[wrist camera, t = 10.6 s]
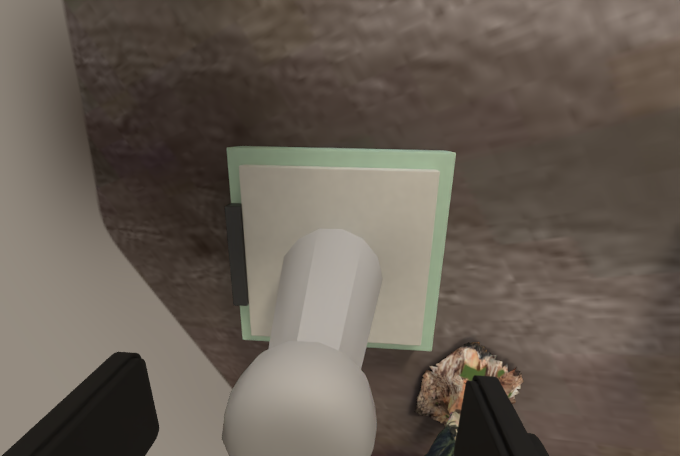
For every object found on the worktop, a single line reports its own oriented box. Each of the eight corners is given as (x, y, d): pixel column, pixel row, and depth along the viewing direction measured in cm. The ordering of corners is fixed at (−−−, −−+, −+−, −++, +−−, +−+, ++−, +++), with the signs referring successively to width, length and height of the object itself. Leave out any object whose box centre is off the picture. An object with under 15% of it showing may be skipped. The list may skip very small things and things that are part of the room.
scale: (240, 145, 22) (218, 148, 19) (446, 150, 21) (461, 153, 18) (252, 321, 26) (237, 348, 23) (425, 331, 25) (434, 361, 22)
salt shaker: (293, 299, 21) (194, 532, 9) (287, 218, 20) (157, 365, 7) (379, 301, 21) (403, 548, 9) (381, 218, 19) (413, 375, 7)
